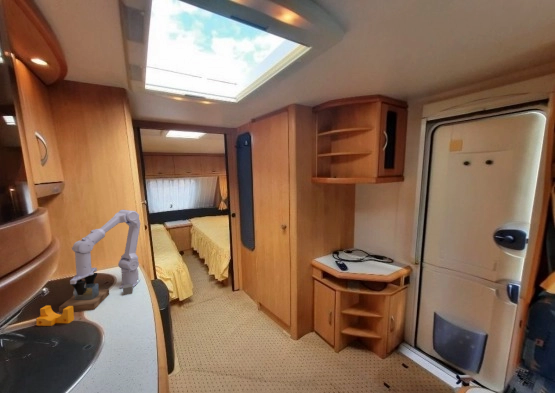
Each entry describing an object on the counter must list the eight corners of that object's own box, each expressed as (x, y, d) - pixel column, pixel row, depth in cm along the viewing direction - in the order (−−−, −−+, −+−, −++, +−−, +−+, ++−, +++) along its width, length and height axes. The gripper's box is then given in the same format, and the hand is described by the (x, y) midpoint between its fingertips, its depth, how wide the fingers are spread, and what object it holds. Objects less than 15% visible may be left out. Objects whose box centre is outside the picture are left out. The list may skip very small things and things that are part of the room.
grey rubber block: (124, 292, 122) (123, 285, 122) (132, 290, 124) (132, 283, 124) (123, 295, 119) (122, 288, 118) (132, 293, 120) (131, 286, 120)
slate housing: (79, 295, 112) (78, 284, 112) (98, 294, 113) (98, 283, 113) (72, 300, 108) (71, 288, 107) (92, 299, 109) (91, 287, 108)
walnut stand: (78, 297, 116) (78, 291, 116) (109, 294, 119) (108, 289, 119) (59, 313, 102) (58, 307, 102) (94, 309, 106) (94, 303, 105)
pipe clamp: (36, 325, 94) (35, 311, 94) (47, 319, 98) (46, 305, 98) (64, 326, 94) (63, 311, 93) (74, 319, 98) (73, 306, 98)
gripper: (81, 270, 102) (82, 298, 103) (102, 259, 117) (103, 284, 118) (64, 271, 102) (66, 299, 103) (87, 259, 116) (89, 284, 117)
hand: (85, 291), depth 110 cm, fingers open, 5 cm apart
